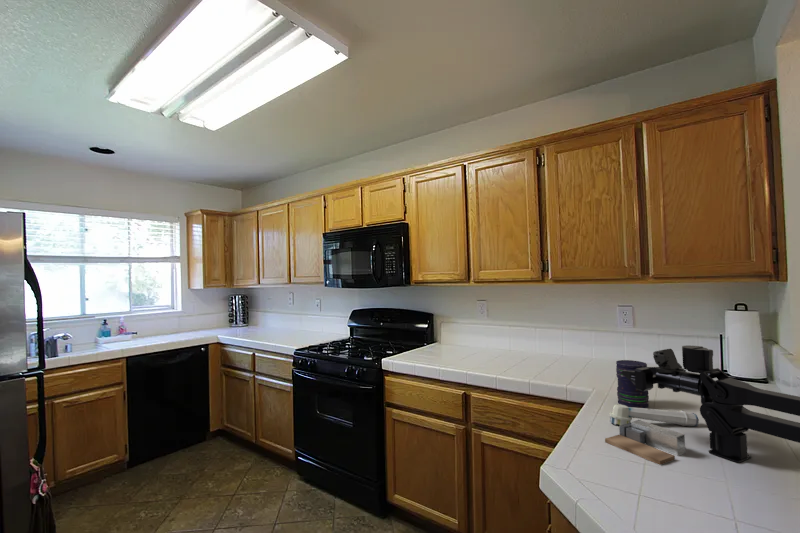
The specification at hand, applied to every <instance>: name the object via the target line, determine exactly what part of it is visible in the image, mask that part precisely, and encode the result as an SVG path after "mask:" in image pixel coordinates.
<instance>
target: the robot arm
mask: <svg viewBox="0 0 800 533" xmlns="http://www.w3.org/2000/svg"><path fill="white" fill-rule="evenodd" d="M681 351H682V352H681V353H682V365H681V364H680V363H679V362H678V360H677V357H676V355H675V351H674V350H673V349H672V348H665V349H661V350H660V349H659V350H656V351H653V353H652V357H653V360H654V362H655V365H656V366H647V367H641V368H636V369H635V371H622V375H624V376H625V377H626V378H627V379H629V380H630V381H631V382H632V383H633V384H634V385H635V388H636V390H639V391H648V392H649V391H651V390H652V389H653V388H654V385H655V384H657V388H658V389H661V390H662V389H668V390H672V392H674V393H680V392H682V393H686V394H690V395H694V396H695V395H696V396H699V397H700V404H701V406H700V407H699V413H700V415H701V417H702V419H703V420H704V422H705V424H706V427H707V429H708V432H709V447H710V449H709V450H708V453H709V454H711V455H715V456H717V457H719V458H723V459H725V460H729V461H731V462H735V463H741V462H742V463H743V461H746V460H749V459H751V458H752V455H751V454H749V453H748V441H747V440H748V439H747V438H748V437H747V436H748V435H747V433H744V432H748V431H749V430H751V431H755V432H757V433H762V434H766V435H770V436H774V437H777V438H781V439H784V440H787V441H791V442H796V443H798V444H800V422H798V421H794V420H790V419H785V418H781V417H778V416H777V417H776V416H774V415H769V414H764V413H760V412H756V411H754V410H753V411H752V410H750V409H748V408H746V407H744V406H751V407H753V406H754V407H758V408H763V409H767V410H772V411H776V412H780V413H785V414H789V415H793V416H798V417H800V396H799V395H791V394H789V393H788V394H787V393H782V392H778V391H772V390H767V389H762V388H758V387H756V386H754V385H751V384H750V383H747V382H745V381H742V380H740V379H739V380H738V379H736V378H733V377H731V376H728V374H727V373H725V372H724V371H722V370H721V369H720V368H719V367H717V368H714V360H713V358H714V357H713V356H714V350H713V349H709V348H707V347H705V346H701V345H681ZM714 379H717V380H714Z"/></svg>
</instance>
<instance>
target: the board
mask: <svg viewBox="0 0 800 533" xmlns="http://www.w3.org/2000/svg"><path fill="white" fill-rule="evenodd" d="M604 443H606V444H609V445H612V446H614V447H616V448H618V449H620V450H622V451H626V452H628V453H630V454H633V455H634V456H638V457H640V458H642V459H645V460H647V461H649V462H653V463H655V464H657V465H660V466H661V465H664V464H668V463H671V462H672V461H675V460H676V458H675V457H676V455H674V454H671V453H668V452H666V451H663V450H660V449H658V448H655V447H652V446H649V445H647V444H643V443H640V442H637V441H635V440H632V439H630V438H627V437H624V436H622V435H620V434H617V435H613V436H609V437H607V438H606V437H605V439H604Z"/></svg>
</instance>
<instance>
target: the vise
mask: <svg viewBox="0 0 800 533" xmlns="http://www.w3.org/2000/svg"><path fill="white" fill-rule="evenodd" d="M618 429H619V435H622V436H624V437H627V438H630V439H632V440H635V441H637V442H640V443H643V444H645V438H644V431H641V430H638V429H635V428H632V426H631V422H630V423H628V424H624V425H619V426H618ZM645 445H646V444H645Z"/></svg>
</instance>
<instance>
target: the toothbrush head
mask: <svg viewBox="0 0 800 533" xmlns="http://www.w3.org/2000/svg"><path fill="white" fill-rule="evenodd" d="M608 415H609V422H610V423H611V424H613V425H614V426H615V425H619V426H620V425H624V424H628V423H631V422H632V420H633V418H634V419H638V420H647V421H652V422H653V421H654V422H660V423H661V422H662V423H666V424H667V423H668V424H674V425H680V426H682V427H686V426H687V427H698V426H699V421H700V418H699V417H698V414H696V413H694V412H688V411H684V410H682V409H681V410H679V411H678V410H668V409H657V408H656V409H655V408H634V407H627V406H625V405H621V404H618V403H615V404H614V405H613V408H612V411H609V413H608Z"/></svg>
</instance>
